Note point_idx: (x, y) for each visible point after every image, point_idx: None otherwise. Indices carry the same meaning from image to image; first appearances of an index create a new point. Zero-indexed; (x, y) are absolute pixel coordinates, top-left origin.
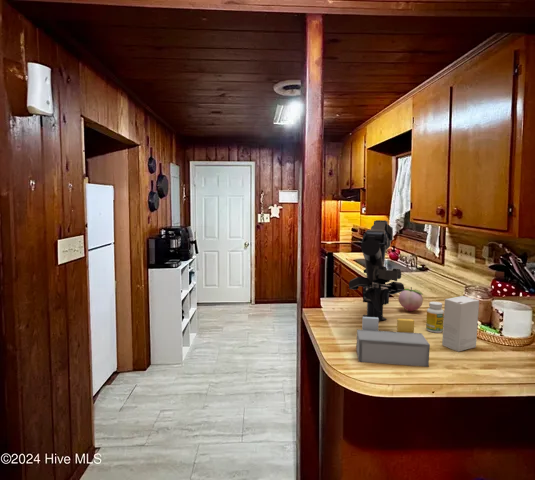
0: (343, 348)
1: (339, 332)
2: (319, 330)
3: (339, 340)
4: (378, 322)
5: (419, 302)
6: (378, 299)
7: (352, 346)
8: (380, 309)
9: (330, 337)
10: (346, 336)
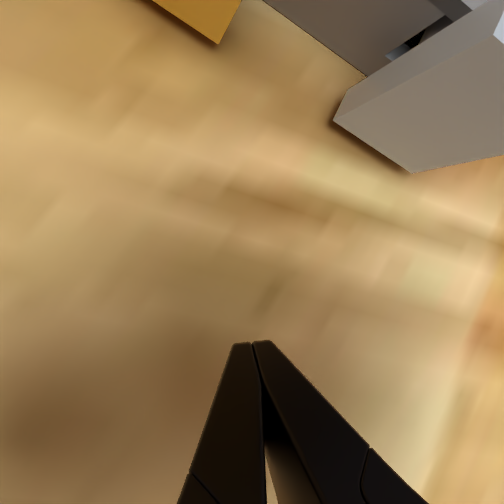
0: (500, 175)
1: (400, 439)
2: (487, 491)
3: (464, 298)
4: (480, 7)
5: None
6: (362, 468)
7: (446, 186)
8: (266, 351)
9: (485, 359)
10: (396, 356)
